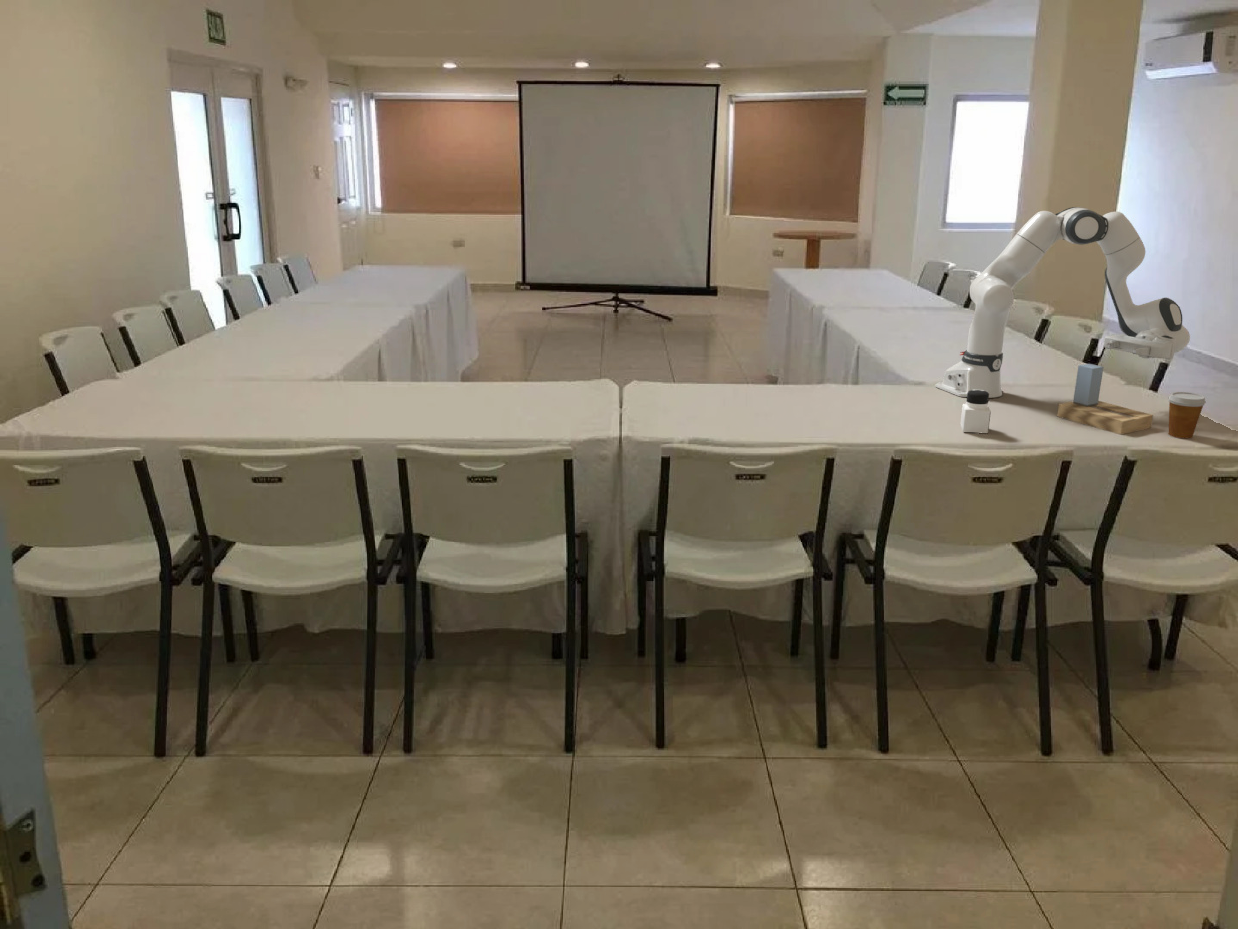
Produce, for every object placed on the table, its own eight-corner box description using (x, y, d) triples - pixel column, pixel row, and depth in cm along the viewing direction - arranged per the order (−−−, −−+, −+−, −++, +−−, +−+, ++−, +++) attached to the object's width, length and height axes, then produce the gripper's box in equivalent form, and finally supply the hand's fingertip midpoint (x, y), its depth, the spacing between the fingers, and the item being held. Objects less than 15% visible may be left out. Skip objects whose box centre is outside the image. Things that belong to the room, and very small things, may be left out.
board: (1057, 416, 314) (1059, 403, 313) (1087, 410, 320) (1089, 398, 319) (1120, 434, 296) (1122, 421, 294) (1150, 427, 302) (1153, 414, 301)
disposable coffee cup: (1155, 431, 299) (1162, 391, 295) (1185, 430, 300) (1193, 391, 296) (1174, 440, 290) (1182, 400, 286) (1206, 439, 291) (1214, 399, 287)
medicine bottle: (988, 434, 296) (993, 394, 292) (962, 432, 298) (967, 393, 294) (984, 427, 303) (989, 388, 299) (960, 426, 304) (964, 387, 300)
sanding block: (1072, 403, 314) (1078, 365, 310) (1083, 401, 316) (1089, 363, 312) (1086, 406, 309) (1092, 368, 306) (1097, 404, 312) (1103, 366, 308)
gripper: (1121, 328, 327) (1093, 333, 321) (1181, 339, 310) (1152, 344, 304) (1118, 348, 329) (1090, 352, 323) (1177, 359, 312) (1149, 364, 306)
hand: (1121, 348), depth 313 cm, fingers open, 8 cm apart
